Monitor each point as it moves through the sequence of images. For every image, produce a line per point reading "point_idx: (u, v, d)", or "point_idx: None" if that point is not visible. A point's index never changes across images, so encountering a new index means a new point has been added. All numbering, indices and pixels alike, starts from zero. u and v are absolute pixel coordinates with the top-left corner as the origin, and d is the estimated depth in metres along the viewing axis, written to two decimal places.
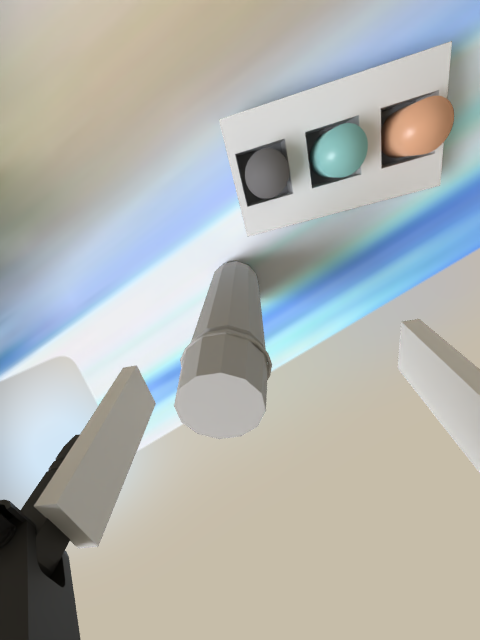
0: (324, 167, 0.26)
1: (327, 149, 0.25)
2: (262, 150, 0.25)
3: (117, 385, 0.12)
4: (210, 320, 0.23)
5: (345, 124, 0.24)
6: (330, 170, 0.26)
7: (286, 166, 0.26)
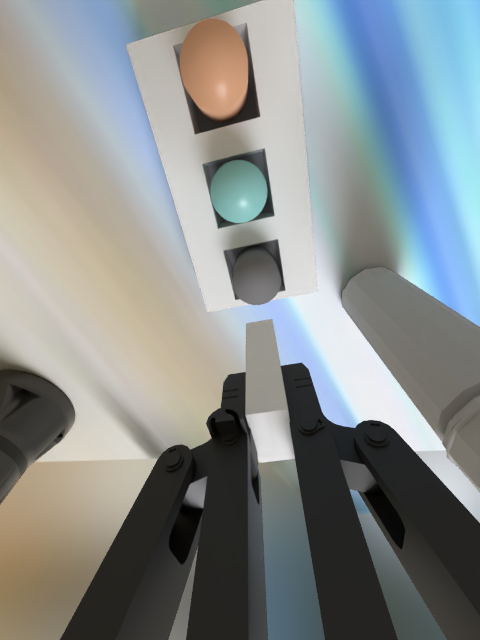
0: (254, 216, 0.21)
1: (236, 215, 0.21)
2: (234, 287, 0.24)
3: (252, 335, 0.14)
4: (423, 413, 0.18)
5: (211, 195, 0.21)
6: (257, 208, 0.21)
7: (250, 262, 0.23)
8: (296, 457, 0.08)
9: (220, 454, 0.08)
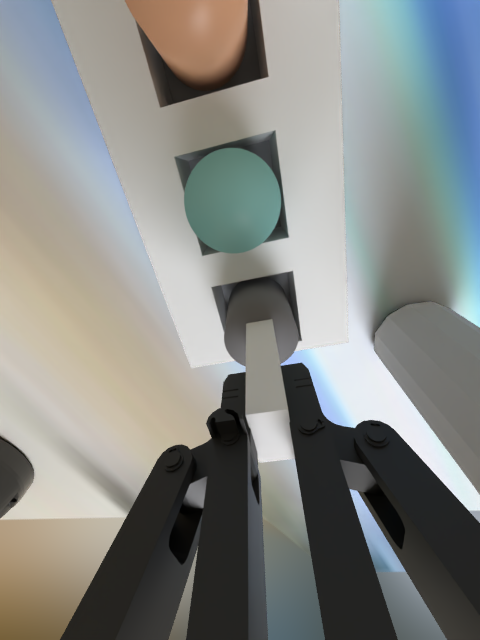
0: (258, 243, 0.13)
1: (228, 240, 0.13)
2: (226, 345, 0.16)
3: (252, 335, 0.14)
4: None
5: (186, 208, 0.12)
6: (264, 231, 0.13)
7: (251, 310, 0.15)
8: (296, 457, 0.08)
9: (220, 454, 0.08)
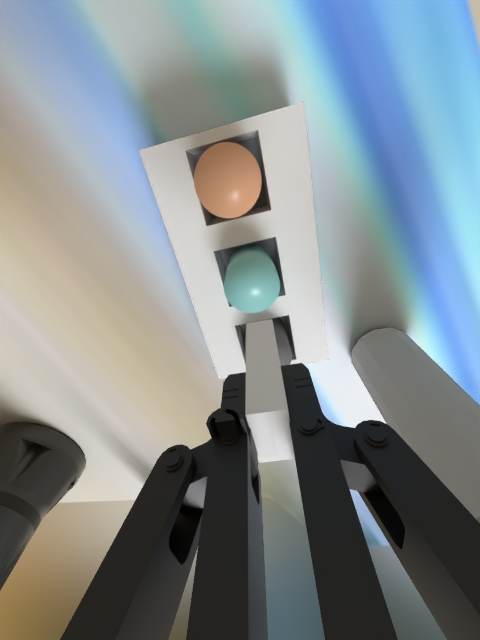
0: (267, 307, 0.22)
1: (248, 306, 0.21)
2: None
3: (252, 335, 0.14)
4: None
5: (224, 289, 0.21)
6: (270, 300, 0.21)
7: None
8: (296, 457, 0.08)
9: (220, 454, 0.08)
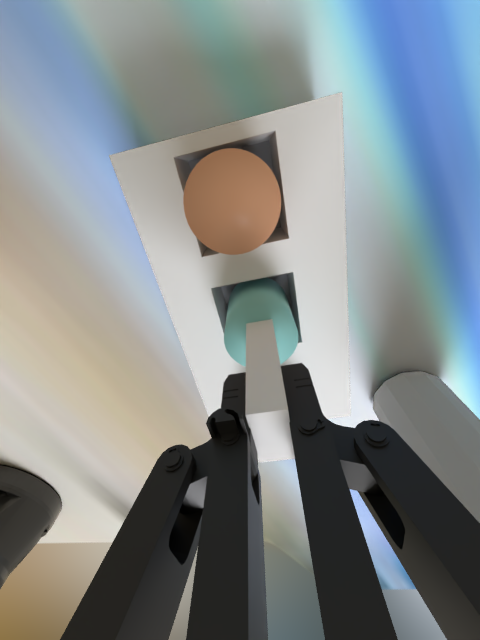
0: (280, 363, 0.17)
1: None
2: None
3: (252, 335, 0.14)
4: None
5: (225, 341, 0.16)
6: (285, 355, 0.16)
7: None
8: (296, 457, 0.08)
9: (220, 454, 0.08)
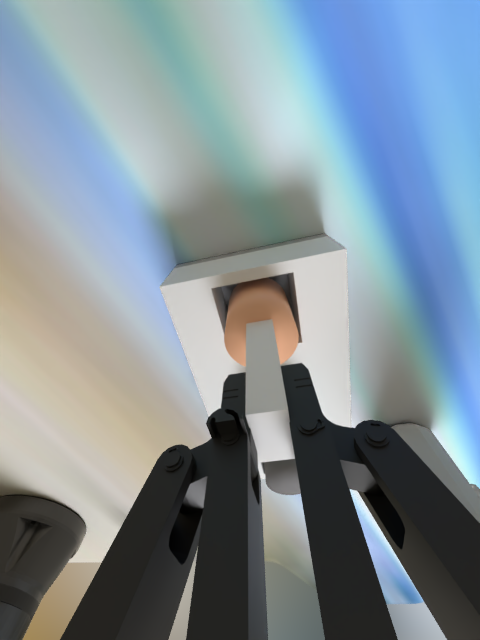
0: None
1: None
2: (267, 483, 0.23)
3: (252, 335, 0.14)
4: None
5: None
6: None
7: (286, 466, 0.22)
8: (296, 457, 0.08)
9: (220, 454, 0.08)
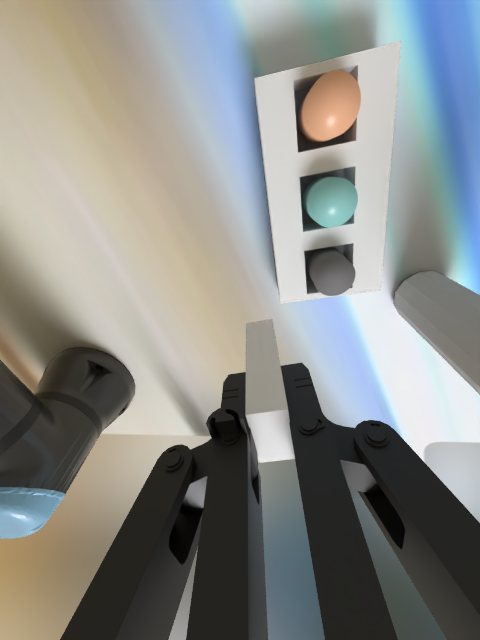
0: (342, 222, 0.26)
1: (328, 221, 0.26)
2: (314, 280, 0.29)
3: (252, 335, 0.14)
4: None
5: (311, 204, 0.25)
6: (347, 216, 0.26)
7: (332, 260, 0.28)
8: (296, 457, 0.08)
9: (220, 454, 0.08)
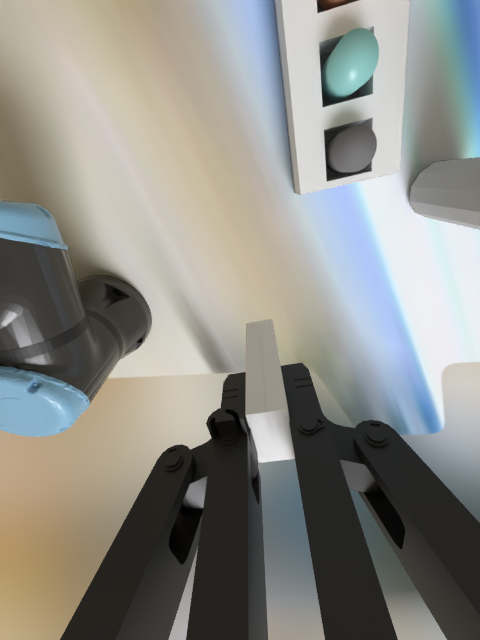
0: (364, 82, 0.27)
1: (349, 81, 0.26)
2: (336, 154, 0.29)
3: (252, 335, 0.14)
4: None
5: (333, 61, 0.26)
6: (368, 74, 0.26)
7: (354, 128, 0.28)
8: (296, 457, 0.08)
9: (220, 454, 0.08)
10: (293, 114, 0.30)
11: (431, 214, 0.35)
